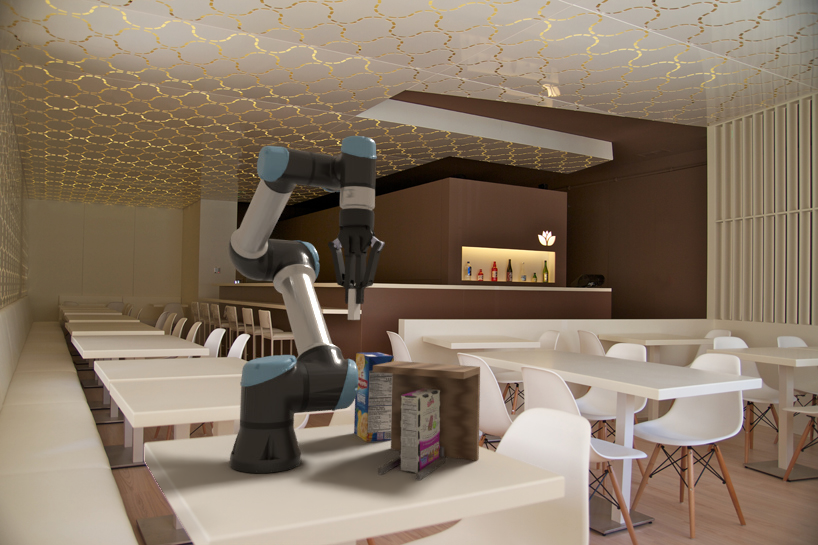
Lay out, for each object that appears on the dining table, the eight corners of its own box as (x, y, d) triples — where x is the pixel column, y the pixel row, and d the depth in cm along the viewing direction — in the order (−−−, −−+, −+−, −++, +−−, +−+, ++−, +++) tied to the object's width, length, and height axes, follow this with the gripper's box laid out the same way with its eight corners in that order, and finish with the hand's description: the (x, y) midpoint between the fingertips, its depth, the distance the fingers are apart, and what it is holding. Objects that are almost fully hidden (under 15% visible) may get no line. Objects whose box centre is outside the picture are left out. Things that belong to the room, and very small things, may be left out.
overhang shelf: (352, 469, 123) (355, 369, 124) (393, 447, 142) (395, 360, 143) (448, 484, 114) (450, 376, 115) (478, 459, 133) (480, 366, 134)
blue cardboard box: (366, 442, 147) (369, 356, 148) (353, 433, 157) (356, 352, 158) (391, 440, 149) (393, 356, 150) (377, 431, 159) (379, 352, 161)
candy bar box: (420, 458, 132) (422, 387, 133) (440, 462, 130) (441, 389, 131) (398, 471, 122) (399, 394, 123) (419, 474, 120) (420, 396, 121)
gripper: (321, 208, 121) (318, 318, 120) (376, 205, 116) (373, 321, 115) (339, 213, 128) (336, 318, 127) (391, 211, 123) (389, 320, 122)
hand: (353, 319), depth 121 cm, fingers closed
